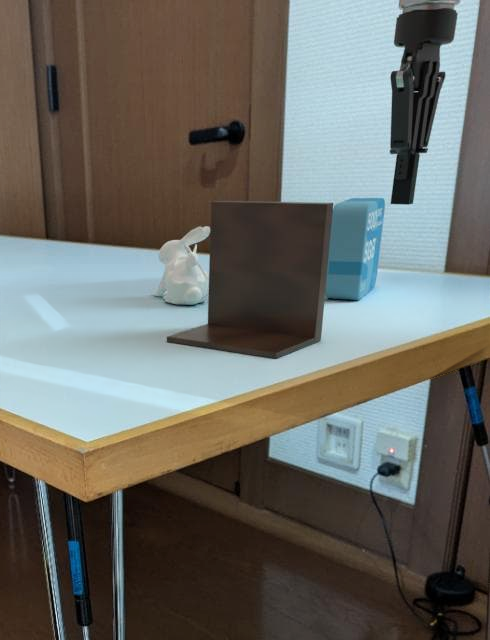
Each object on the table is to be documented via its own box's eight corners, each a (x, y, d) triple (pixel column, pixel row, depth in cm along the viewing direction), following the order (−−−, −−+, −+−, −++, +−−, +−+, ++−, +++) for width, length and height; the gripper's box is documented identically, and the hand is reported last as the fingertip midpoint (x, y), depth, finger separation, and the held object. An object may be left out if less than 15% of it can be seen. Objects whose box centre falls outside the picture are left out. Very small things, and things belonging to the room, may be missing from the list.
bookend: (321, 340, 88) (333, 202, 81) (276, 358, 81) (286, 210, 75) (214, 326, 96) (218, 200, 90) (166, 341, 90) (167, 207, 84)
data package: (357, 302, 106) (368, 204, 101) (323, 300, 108) (332, 204, 103) (375, 287, 115) (386, 196, 110) (343, 285, 117) (352, 197, 112)
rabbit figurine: (149, 294, 117) (149, 224, 113) (198, 290, 118) (200, 220, 114) (175, 309, 106) (176, 232, 102) (228, 304, 108) (232, 228, 103)
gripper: (419, 16, 112) (395, 199, 123) (378, 10, 103) (356, 207, 114) (474, 10, 107) (445, 200, 118) (436, 3, 99) (408, 208, 110)
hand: (401, 203), depth 116 cm, fingers closed
